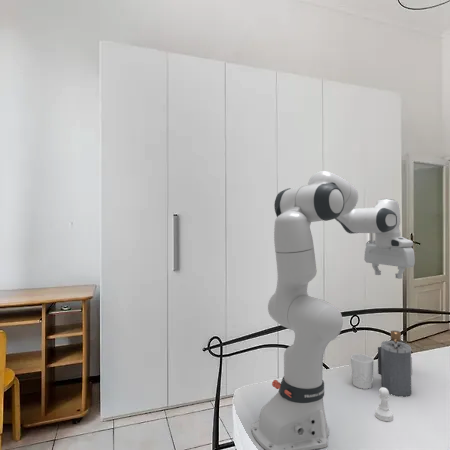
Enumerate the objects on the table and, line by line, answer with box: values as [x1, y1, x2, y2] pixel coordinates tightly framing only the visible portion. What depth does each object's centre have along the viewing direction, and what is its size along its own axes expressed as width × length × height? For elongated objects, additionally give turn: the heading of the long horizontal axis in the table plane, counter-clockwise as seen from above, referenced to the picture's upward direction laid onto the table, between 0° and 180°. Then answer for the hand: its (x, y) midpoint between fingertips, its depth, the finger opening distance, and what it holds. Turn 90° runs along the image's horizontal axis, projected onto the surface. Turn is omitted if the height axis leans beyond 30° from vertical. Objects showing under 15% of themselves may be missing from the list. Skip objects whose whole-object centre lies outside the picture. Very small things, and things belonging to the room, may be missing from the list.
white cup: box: [350, 353, 375, 390], centre depth 122 cm, size 8×8×10 cm
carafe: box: [377, 340, 412, 398], centre depth 120 cm, size 10×12×16 cm
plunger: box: [390, 330, 402, 347], centre depth 118 cm, size 7×7×18 cm
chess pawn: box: [374, 387, 394, 422], centre depth 102 cm, size 5×5×9 cm
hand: (387, 276), depth 128 cm, fingers open, 8 cm apart
